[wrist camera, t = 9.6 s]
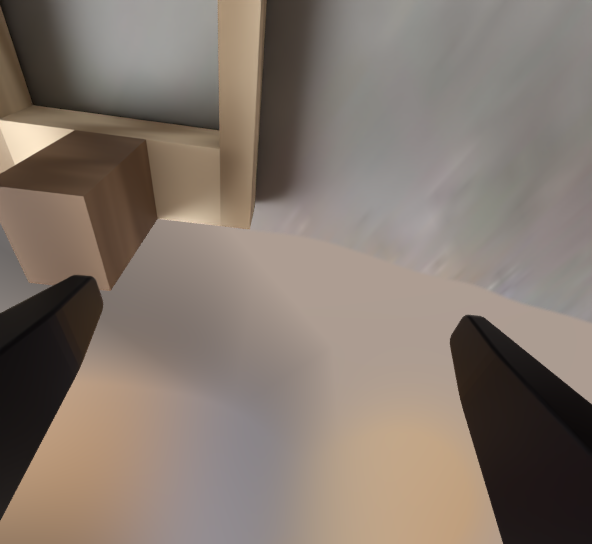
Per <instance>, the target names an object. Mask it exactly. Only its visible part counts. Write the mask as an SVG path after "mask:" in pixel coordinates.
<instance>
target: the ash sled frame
mask: <svg viewBox="0 0 592 544" xmlns="http://www.w3.org/2000/svg"><path fill="white" fill-rule="evenodd" d="M266 5H267V0H218V58H219V130H212V129H205V128H198V127H190V126H183V125H175V124H168V123H161V122H153V121H146V120H138V119H131V118H124V117H116V116H109V115H101V114H94V113H87V112H79V111H72V110H65V109H57V108H50V107H42V106H35V105H33V104H32V101H31V98H30V95H29V92H28V89H27V86H26V82H25V79H24V76H23V73H22V70H21V67H20V64H19V61H18V58H17V55H16V52H15V49H14V46H13V43H12V40H11V37H10V34H9V31H8V28H7V25H6V22H5V19H4V15H3V12H2V9H1V6H0V223H1V225H2V227H3V229H4V231H5V234H6V236H7V238H8V240H9V242H10V244H11V246H12V248H13V250H14V252H15V254H16V256H17V259H18V261H19V262H20V265H21V267H22V269H23V271H24V273H25V275H26V277H27V279H28V281H29V283H38V284H48V285H55V284H57V283H59V282H61V281H63V280H65V279H66V278H68V277H70V276H73V275H87V276H92V277H94V278H95V279H96V281H97V284H98V287H99V290H107V291H110V290H111V289H112V288H113V286H114V285H115V283H116V282H117V280H118V279H119V277H120V276H121V274H122V272H123V271H124V269H125V268H126V266H127V265H128V263H129V262H130V260H131V258H132V257H133V256H134V254H135V252H136V251H137V249H138V248H139V246H140V245H141V243H142V242H143V240H144V239H145V237H146V236H147V234H148V233H149V231H150V229H151V228H152V226H153V225H154V223H155V222H156V220H157V219H164V220H173V221H182V222H190V223H199V224H208V225H216V226H225V227H233V228H242V229H250V225H251V221H252V216H253V212H254V207H255V193H256V176H257V159H258V142H259V125H260V108H261V90H262V73H263V56H264V39H265V22H266Z"/></svg>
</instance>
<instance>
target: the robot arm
mask: <svg viewBox="0 0 592 544" xmlns="http://www.w3.org/2000/svg"><path fill="white" fill-rule="evenodd" d="M102 309H103V300H102V297H101V293H100V290H99V287H98V284H97V281H96V279H95V278H94V277H92V276H87V275H73V276H70V277H68V278H66V279H65V280H63V281H61V282H59V283H57V284H55V285H53V286H52V287H49V288H47V289H46V290H44V291H42V292H40V293H38V294H36V295H34V296H32V297H30V298H29V299H27V300H25V301H23V302H21V303H19V304H17V305H15V306H13V307H11V308H9V309H7V310H6V311H4V312H2V313H0V520H1V518H2V516H3V515H4V513H5V511H6V509H7V507H8V505H9V503H10V501H11V499H12V497H13V495H14V494H15V491H16V490H17V488H18V486H19V484H20V482H21V480H22V478H23V476H24V474H25V473H26V471H27V469H28V467H29V465H30V463H31V461H32V459H33V457H34V455H35V453H36V452H37V450H38V448H39V446H40V444H41V442H42V440H43V438H44V436H45V434H46V432H47V431H48V428H49V427H50V425H51V423H52V421H53V419H54V417H55V415H56V413H57V411H58V409H59V408H60V406H61V404H62V402H63V400H64V398H65V396H66V394H67V392H68V390H69V388H70V387H71V385H72V383H73V381H74V379H75V377H76V375H77V373H78V371H79V369H80V367H81V364H82V362H83V360H84V357H85V354H86V352H87V349H88V346H89V344H90V341H91V339H92V336H93V334H94V331H95V328H96V326H97V323H98V320H99V318H100V315H101V313H102ZM450 347H451V353H452V358H453V364H454V369H455V375H456V380H457V385H458V391H459V395H460V400H461V404H462V408H463V411H464V414H465V418H466V421H467V424H468V428H469V431H470V434H471V438H472V441H473V444H474V448H475V451H476V455H477V458H478V461H479V465H480V468H481V471H482V475H483V478H484V481H485V485H486V488H487V491H488V494H489V498H490V501H491V505H492V508H493V511H494V514H495V518H496V521H497V525H498V528H499V531H500V535H501V538H502V541H503V544H592V404H591V403H589V402H588V401H587V400H586V399H584V398H583V397H582V396H581V395H579V394H578V393H577V392H576V391H574V390H573V389H572V388H571V387H570V386H568V385H567V384H566V383H564V382H563V381H562V380H561V379H560V378H558V377H557V376H556V375H554V374H553V373H552V372H551V371H550V370H548V369H547V368H546V367H545V366H543V365H542V364H541V363H540V362H538V361H537V360H536V359H535V358H534V357H532V356H531V355H530V354H529V353H527V352H526V351H525V350H524V349H522V348H521V347H520V346H519V345H517V344H516V343H515V342H514V341H512V340H511V339H510V338H509V337H507V336H506V335H505V334H504V333H502V332H501V331H500V330H499V329H498V328H496V327H495V326H494V325H492V324H491V323H490V322H489V321H488V320H486V319H485V318H484V317H481V316H475V315H465V316H464V317H463V318H462V319H461V321H460V322H459V324H458V326H457V327H456V328H455V330H454V332H453V333H452V335H451V338H450Z"/></svg>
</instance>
